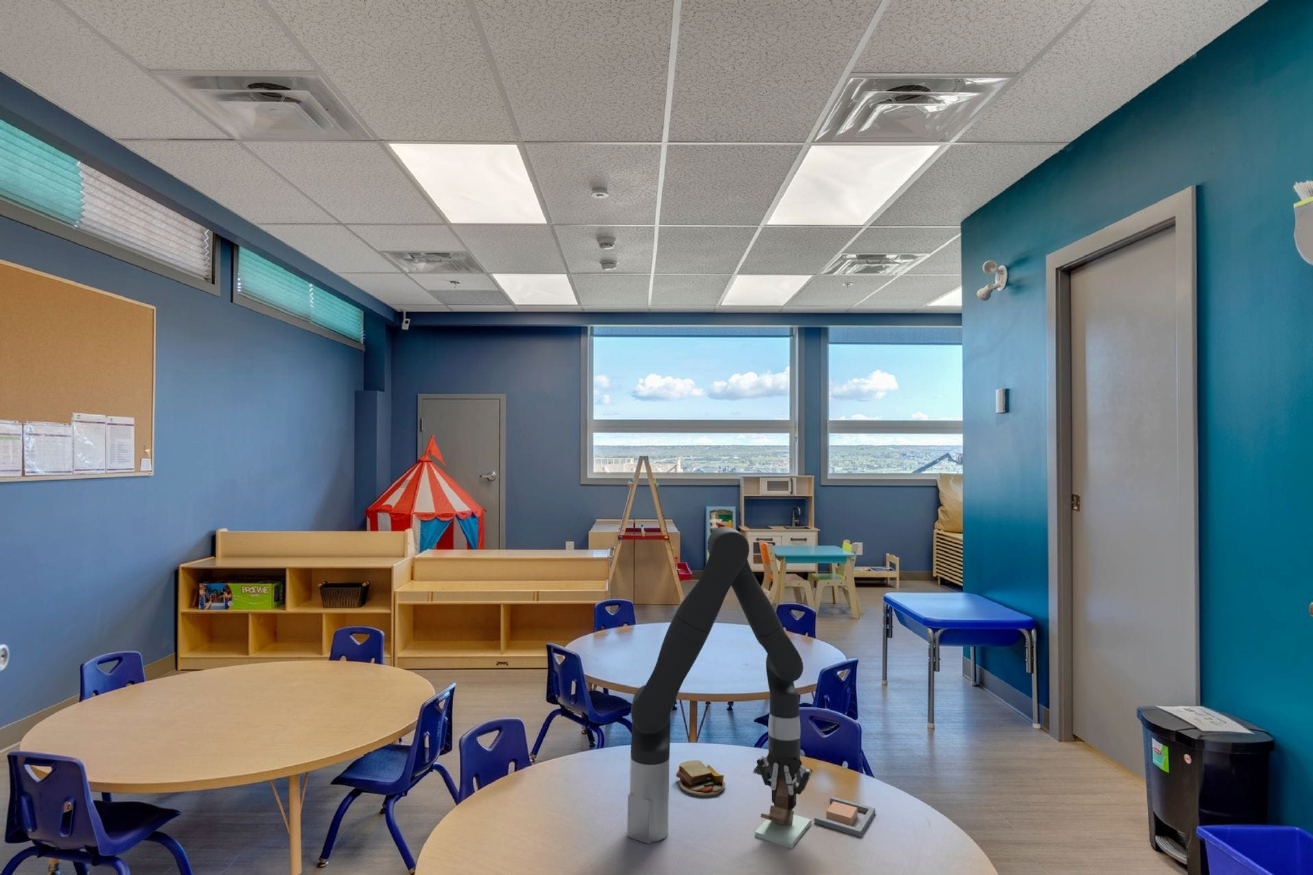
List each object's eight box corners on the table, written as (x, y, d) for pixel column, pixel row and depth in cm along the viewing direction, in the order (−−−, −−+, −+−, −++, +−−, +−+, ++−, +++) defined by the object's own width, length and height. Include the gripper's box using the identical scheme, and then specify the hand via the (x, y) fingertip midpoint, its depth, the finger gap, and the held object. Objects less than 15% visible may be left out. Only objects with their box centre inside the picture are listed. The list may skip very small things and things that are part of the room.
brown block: (780, 823, 153) (788, 771, 158) (760, 817, 156) (768, 766, 160) (792, 824, 159) (799, 774, 164) (772, 818, 162) (779, 769, 166)
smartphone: (804, 783, 183) (752, 771, 189) (804, 785, 183) (752, 773, 189) (811, 772, 190) (760, 761, 196) (811, 774, 190) (760, 763, 196)
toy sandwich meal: (691, 801, 172) (691, 783, 172) (669, 779, 185) (670, 762, 185) (733, 793, 177) (734, 775, 177) (709, 772, 189) (710, 755, 190)
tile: (850, 828, 161) (850, 817, 161) (826, 821, 164) (826, 810, 164) (857, 817, 166) (857, 807, 166) (833, 811, 169) (833, 801, 169)
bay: (860, 836, 156) (860, 831, 156) (814, 822, 162) (814, 817, 162) (875, 813, 168) (875, 808, 168) (831, 800, 174) (831, 796, 174)
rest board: (791, 848, 151) (791, 843, 151) (754, 836, 156) (755, 831, 156) (811, 823, 162) (811, 819, 162) (776, 813, 167) (776, 808, 167)
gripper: (750, 731, 161) (750, 805, 160) (807, 744, 153) (806, 822, 152) (763, 721, 167) (762, 793, 166) (817, 734, 159) (817, 808, 158)
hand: (783, 806), depth 159 cm, fingers closed on brown block, 3 cm apart
